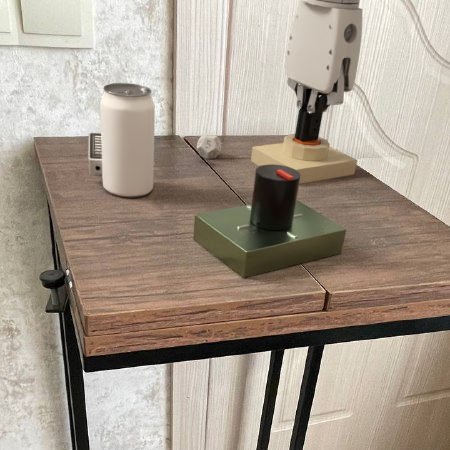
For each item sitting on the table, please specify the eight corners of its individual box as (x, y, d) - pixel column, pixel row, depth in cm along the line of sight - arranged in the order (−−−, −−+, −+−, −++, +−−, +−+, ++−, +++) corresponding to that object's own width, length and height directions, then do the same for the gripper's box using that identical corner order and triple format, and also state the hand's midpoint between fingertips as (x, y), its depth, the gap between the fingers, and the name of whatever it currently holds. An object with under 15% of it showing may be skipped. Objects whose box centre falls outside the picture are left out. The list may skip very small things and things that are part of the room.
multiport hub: (119, 149, 93) (119, 133, 92) (122, 177, 85) (122, 160, 83) (89, 148, 92) (88, 132, 91) (89, 176, 84) (88, 158, 83)
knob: (241, 215, 71) (247, 164, 67) (276, 210, 73) (283, 159, 69) (265, 233, 68) (273, 180, 64) (300, 226, 70) (310, 174, 66)
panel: (287, 219, 79) (291, 195, 77) (341, 253, 72) (347, 227, 70) (193, 239, 72) (194, 212, 70) (243, 278, 66) (246, 250, 64)
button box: (311, 153, 100) (315, 126, 97) (354, 174, 94) (360, 147, 91) (250, 161, 94) (253, 134, 91) (292, 185, 88) (296, 156, 85)
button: (306, 146, 94) (308, 134, 93) (322, 154, 92) (324, 142, 91) (288, 149, 92) (289, 136, 91) (303, 157, 90) (305, 144, 89)
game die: (222, 160, 93) (224, 140, 91) (198, 160, 92) (199, 139, 90) (217, 152, 96) (219, 132, 94) (193, 152, 95) (195, 131, 93)
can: (162, 187, 83) (165, 89, 75) (135, 202, 78) (135, 100, 71) (121, 175, 85) (120, 79, 77) (92, 189, 80) (88, 88, 73)
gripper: (394, 1, 77) (360, 153, 89) (315, -19, 86) (293, 121, 98) (350, 0, 73) (320, 159, 85) (272, -20, 82) (255, 126, 94)
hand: (306, 139), depth 91 cm, fingers closed
